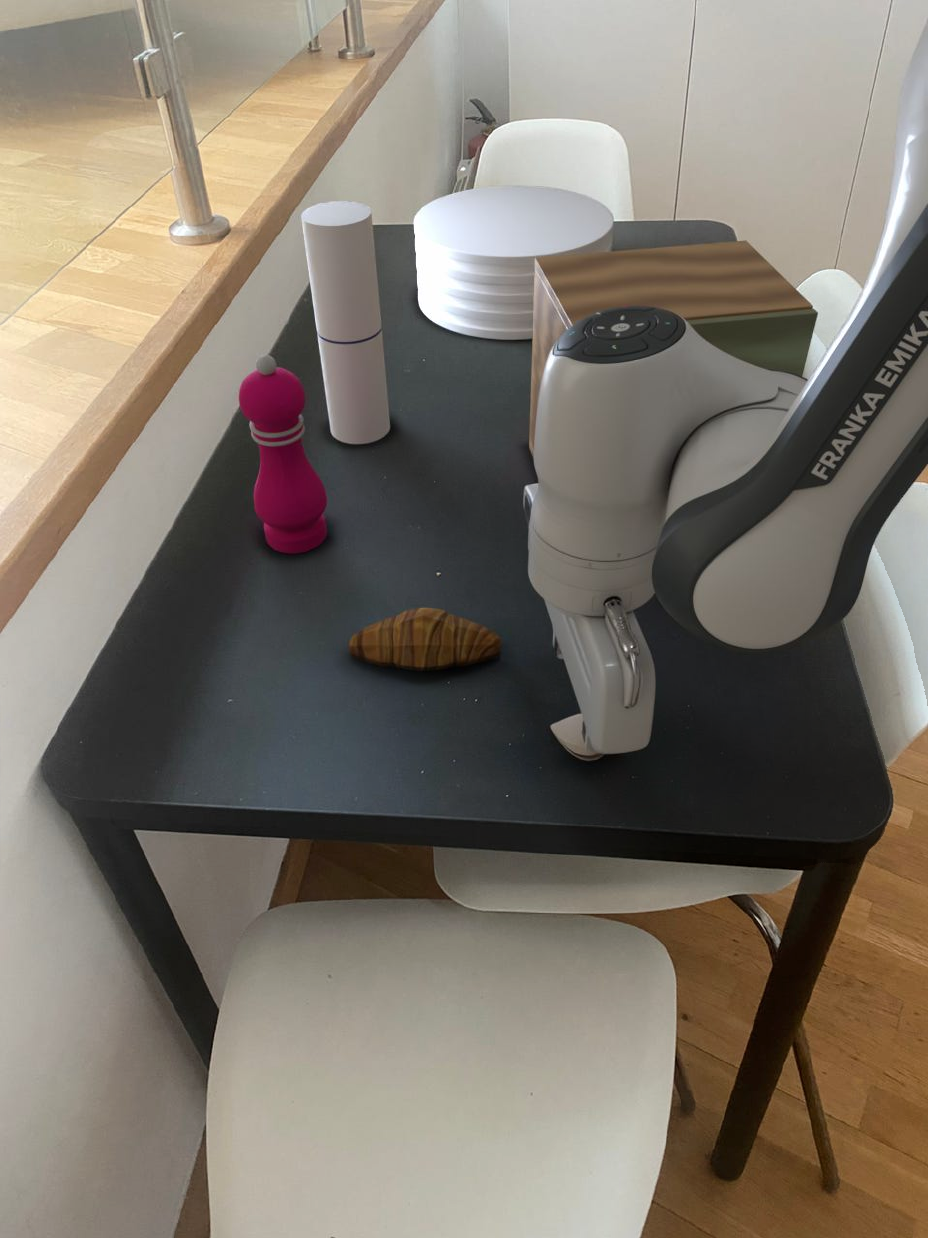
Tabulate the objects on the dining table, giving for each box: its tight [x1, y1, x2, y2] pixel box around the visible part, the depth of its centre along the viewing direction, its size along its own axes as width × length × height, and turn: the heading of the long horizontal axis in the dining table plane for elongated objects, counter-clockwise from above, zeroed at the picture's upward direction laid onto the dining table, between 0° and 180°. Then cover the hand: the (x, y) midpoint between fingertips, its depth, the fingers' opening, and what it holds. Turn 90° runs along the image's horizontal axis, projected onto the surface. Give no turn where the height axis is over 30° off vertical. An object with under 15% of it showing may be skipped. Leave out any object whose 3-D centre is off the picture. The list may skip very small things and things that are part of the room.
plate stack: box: [413, 184, 615, 341], centre depth 133 cm, size 28×28×12 cm
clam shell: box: [550, 712, 605, 762], centre depth 73 cm, size 4×5×2 cm
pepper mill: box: [238, 354, 328, 554], centre depth 88 cm, size 7×7×20 cm
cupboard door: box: [686, 308, 819, 377], centre depth 86 cm, size 6×22×22 cm, turn 99°
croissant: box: [348, 606, 503, 672], centre depth 80 cm, size 14×7×5 cm, turn 89°
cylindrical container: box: [300, 200, 391, 445], centre depth 102 cm, size 7×7×25 cm
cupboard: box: [528, 240, 814, 460], centre depth 94 cm, size 16×22×22 cm
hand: (579, 695), depth 70 cm, fingers open, 8 cm apart
